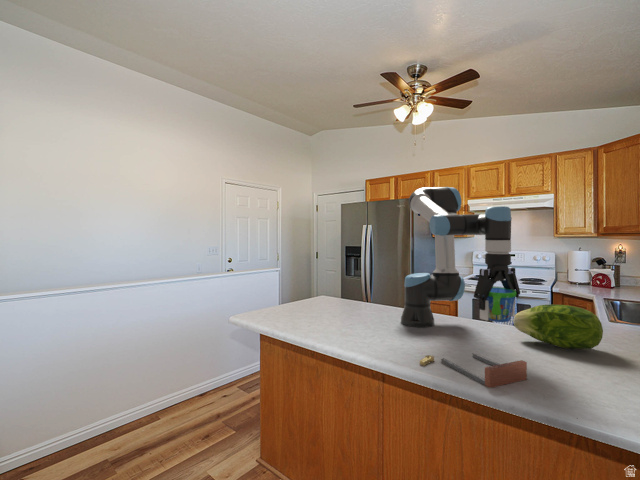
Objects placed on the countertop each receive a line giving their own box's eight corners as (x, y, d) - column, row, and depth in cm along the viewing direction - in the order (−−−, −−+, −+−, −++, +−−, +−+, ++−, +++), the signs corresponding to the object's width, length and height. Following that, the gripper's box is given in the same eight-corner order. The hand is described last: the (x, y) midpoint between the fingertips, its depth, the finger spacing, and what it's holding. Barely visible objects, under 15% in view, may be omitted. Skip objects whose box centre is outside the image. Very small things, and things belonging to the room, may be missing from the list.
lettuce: (515, 334, 131) (514, 297, 131) (600, 347, 115) (600, 304, 115) (511, 344, 119) (510, 303, 119) (605, 360, 103) (605, 313, 103)
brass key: (427, 358, 106) (427, 354, 106) (435, 360, 104) (435, 356, 104) (417, 364, 101) (417, 360, 101) (426, 366, 99) (426, 362, 99)
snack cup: (512, 328, 96) (512, 295, 96) (475, 322, 103) (475, 291, 102) (518, 317, 109) (519, 287, 108) (484, 312, 115) (485, 284, 115)
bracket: (474, 356, 107) (474, 341, 107) (526, 379, 89) (526, 362, 89) (441, 362, 102) (441, 347, 102) (489, 387, 85) (489, 369, 85)
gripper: (512, 251, 113) (511, 311, 114) (461, 253, 104) (461, 318, 105) (533, 252, 106) (532, 316, 107) (480, 254, 97) (480, 324, 98)
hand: (497, 317), depth 106 cm, fingers closed on snack cup, 11 cm apart
